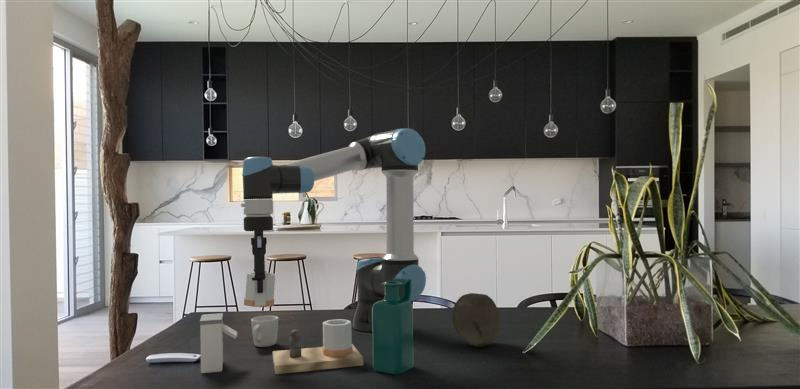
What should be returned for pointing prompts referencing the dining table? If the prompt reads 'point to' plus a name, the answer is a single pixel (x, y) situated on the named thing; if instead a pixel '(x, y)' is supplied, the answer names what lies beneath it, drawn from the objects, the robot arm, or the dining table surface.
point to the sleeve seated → (337, 338)
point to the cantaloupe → (476, 319)
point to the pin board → (310, 358)
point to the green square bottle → (393, 328)
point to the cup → (264, 330)
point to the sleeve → (269, 290)
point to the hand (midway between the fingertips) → (259, 302)
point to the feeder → (213, 341)
